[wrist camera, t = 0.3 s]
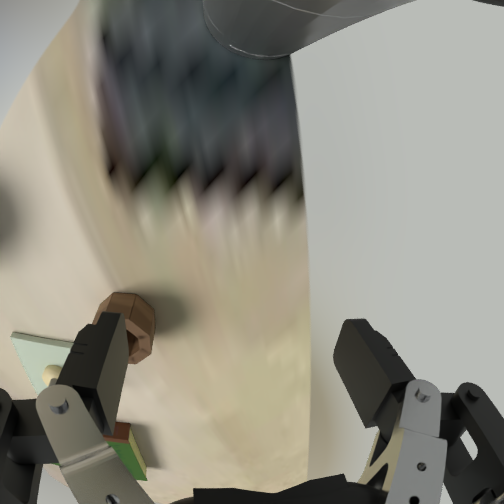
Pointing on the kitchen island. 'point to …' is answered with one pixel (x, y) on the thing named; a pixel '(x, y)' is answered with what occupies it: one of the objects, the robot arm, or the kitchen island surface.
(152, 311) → the ring
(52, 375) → the post
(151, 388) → the kitchen island surface
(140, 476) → the hardcover book
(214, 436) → the kitchen island surface
